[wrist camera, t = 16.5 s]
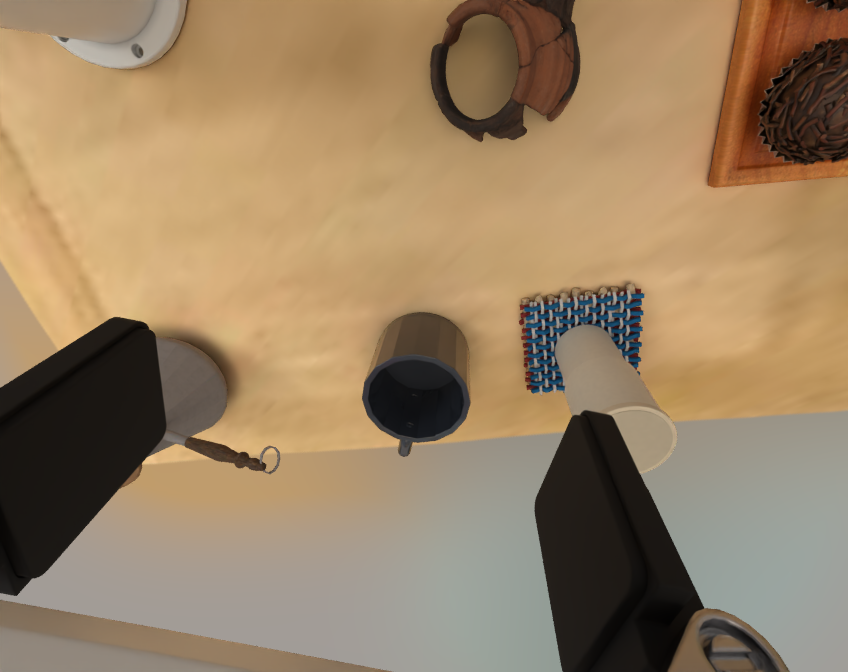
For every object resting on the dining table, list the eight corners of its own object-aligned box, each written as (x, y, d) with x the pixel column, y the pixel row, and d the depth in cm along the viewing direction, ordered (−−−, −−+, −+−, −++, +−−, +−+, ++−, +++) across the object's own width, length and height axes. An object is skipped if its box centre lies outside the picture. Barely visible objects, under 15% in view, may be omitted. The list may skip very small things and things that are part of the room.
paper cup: (540, 370, 42) (568, 468, 31) (561, 313, 39) (601, 398, 28) (603, 382, 42) (653, 484, 31) (629, 326, 39) (694, 417, 28)
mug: (385, 303, 42) (369, 345, 35) (478, 322, 42) (481, 367, 35) (369, 404, 48) (353, 457, 41) (451, 420, 48) (448, 476, 41)
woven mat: (516, 294, 41) (518, 303, 39) (638, 278, 39) (646, 287, 37) (524, 388, 45) (526, 400, 44) (633, 377, 44) (640, 389, 42)
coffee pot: (158, 418, 51) (53, 529, 38) (113, 329, 46) (-27, 423, 33) (337, 407, 48) (290, 523, 35) (311, 312, 43) (245, 407, 30)
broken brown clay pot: (547, 158, 35) (500, 174, 30) (458, 96, 38) (397, 100, 32) (654, -21, 27) (618, -47, 22) (532, -87, 29) (470, -127, 24)
